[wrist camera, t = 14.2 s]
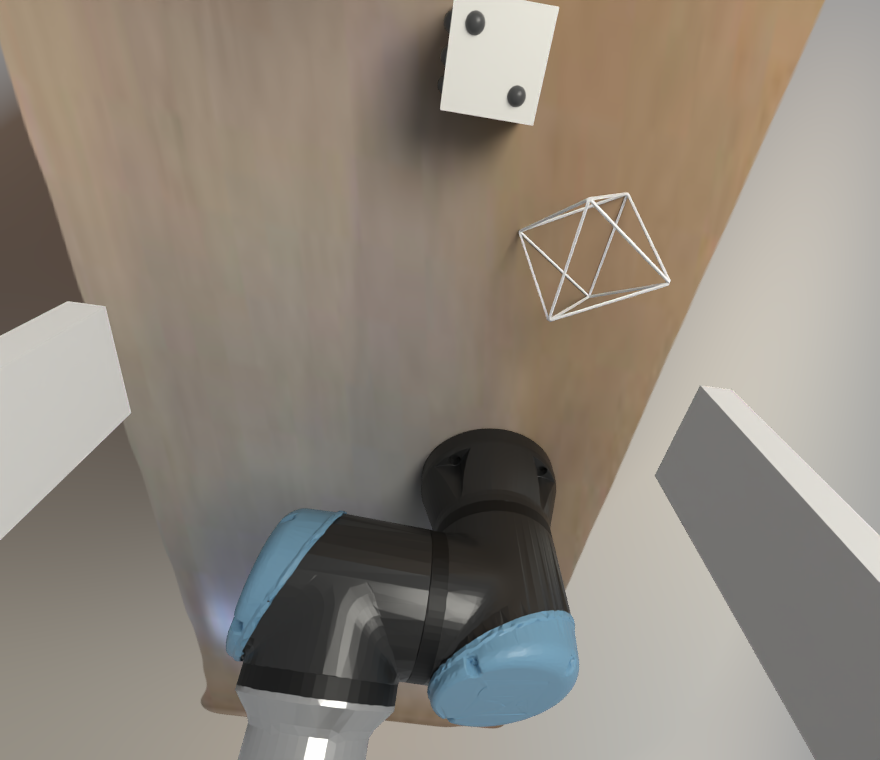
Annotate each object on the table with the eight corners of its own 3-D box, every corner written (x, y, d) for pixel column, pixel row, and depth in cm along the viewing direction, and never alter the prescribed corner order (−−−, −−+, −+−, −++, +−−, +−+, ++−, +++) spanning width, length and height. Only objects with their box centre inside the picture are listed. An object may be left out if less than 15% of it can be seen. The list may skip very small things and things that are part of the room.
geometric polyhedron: (504, 281, 41) (515, 316, 35) (534, 172, 36) (553, 190, 30) (614, 301, 42) (645, 340, 36) (658, 198, 37) (701, 221, 31)
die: (520, 120, 35) (534, 126, 29) (435, 106, 34) (432, 108, 29) (543, 12, 31) (563, -5, 26) (448, -5, 31) (448, -27, 25)
